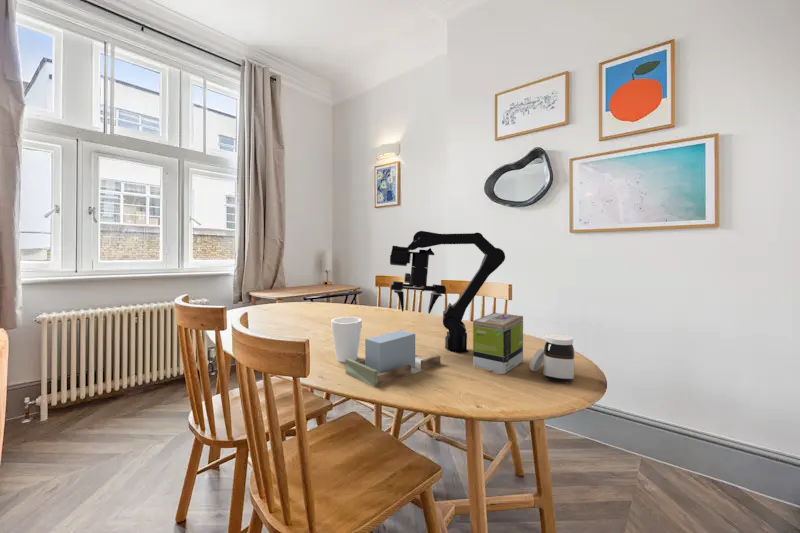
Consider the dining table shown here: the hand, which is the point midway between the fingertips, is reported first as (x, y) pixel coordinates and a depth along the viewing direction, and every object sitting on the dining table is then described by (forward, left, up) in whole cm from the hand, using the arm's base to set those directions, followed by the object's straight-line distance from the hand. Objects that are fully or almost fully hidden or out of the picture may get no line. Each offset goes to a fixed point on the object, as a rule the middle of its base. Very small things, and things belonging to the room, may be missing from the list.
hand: (415, 312), depth 123 cm
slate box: (+13, +19, -13) cm, 26 cm away
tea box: (-21, +20, -13) cm, 32 cm away
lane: (+11, +18, -13) cm, 24 cm away
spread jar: (-31, +31, -13) cm, 46 cm away
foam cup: (+24, +6, -13) cm, 28 cm away
